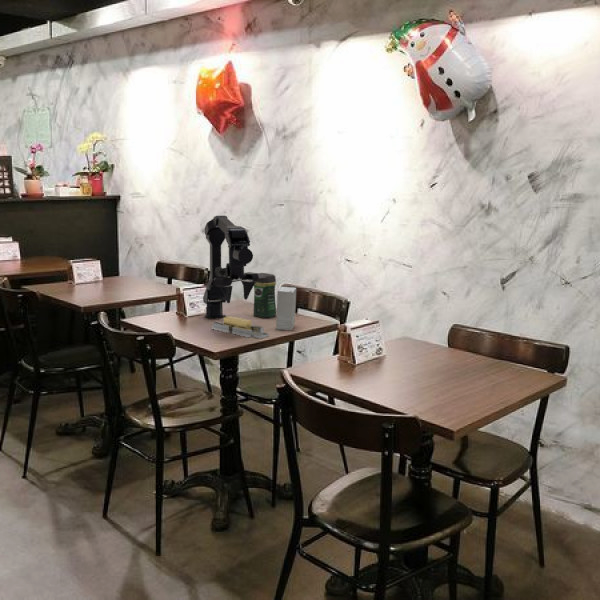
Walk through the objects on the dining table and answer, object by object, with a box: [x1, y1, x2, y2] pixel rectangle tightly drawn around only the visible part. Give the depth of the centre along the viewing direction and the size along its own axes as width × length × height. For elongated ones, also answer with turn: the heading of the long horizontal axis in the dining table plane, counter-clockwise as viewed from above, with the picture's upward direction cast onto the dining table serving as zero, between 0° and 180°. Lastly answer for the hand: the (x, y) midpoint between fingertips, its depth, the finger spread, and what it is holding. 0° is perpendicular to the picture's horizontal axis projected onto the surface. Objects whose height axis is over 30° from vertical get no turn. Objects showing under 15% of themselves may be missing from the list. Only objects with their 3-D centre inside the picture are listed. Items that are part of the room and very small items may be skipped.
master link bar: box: [223, 315, 252, 330], centre depth 253 cm, size 3×12×4 cm, turn 50°
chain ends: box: [212, 321, 270, 340], centre depth 252 cm, size 8×24×3 cm, turn 50°
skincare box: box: [275, 286, 297, 331], centre depth 258 cm, size 8×7×16 cm
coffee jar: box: [253, 272, 277, 319], centre depth 279 cm, size 10×8×19 cm
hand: (237, 301), depth 251 cm, fingers open, 9 cm apart
